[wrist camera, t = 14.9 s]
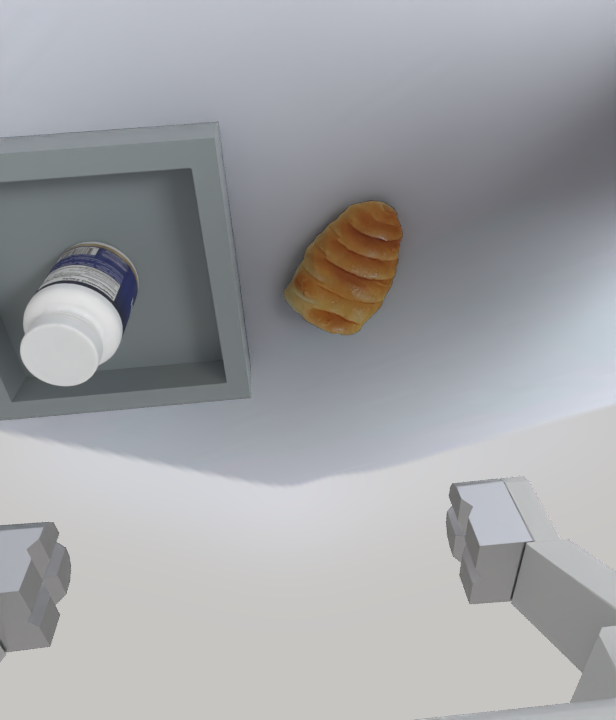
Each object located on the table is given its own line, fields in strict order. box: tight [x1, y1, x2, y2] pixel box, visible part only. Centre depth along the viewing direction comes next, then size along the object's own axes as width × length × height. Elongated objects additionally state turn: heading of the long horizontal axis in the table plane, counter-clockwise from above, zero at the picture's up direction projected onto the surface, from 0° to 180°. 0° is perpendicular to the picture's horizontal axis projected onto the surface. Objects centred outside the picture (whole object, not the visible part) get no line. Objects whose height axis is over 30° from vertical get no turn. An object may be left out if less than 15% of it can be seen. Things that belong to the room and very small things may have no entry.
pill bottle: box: [20, 242, 139, 386], centre depth 34 cm, size 5×5×10 cm
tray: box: [0, 122, 251, 421], centre depth 38 cm, size 18×18×4 cm
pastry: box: [284, 201, 403, 335], centre depth 39 cm, size 9×7×4 cm
